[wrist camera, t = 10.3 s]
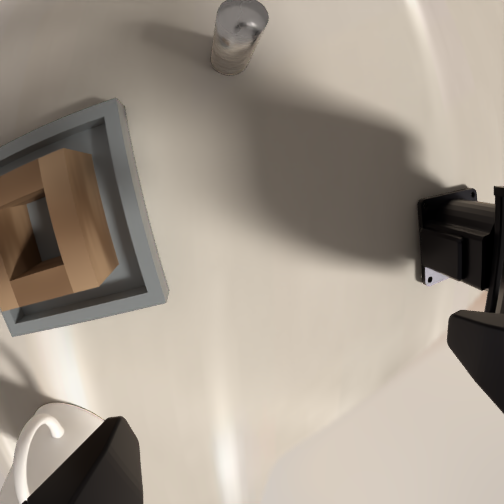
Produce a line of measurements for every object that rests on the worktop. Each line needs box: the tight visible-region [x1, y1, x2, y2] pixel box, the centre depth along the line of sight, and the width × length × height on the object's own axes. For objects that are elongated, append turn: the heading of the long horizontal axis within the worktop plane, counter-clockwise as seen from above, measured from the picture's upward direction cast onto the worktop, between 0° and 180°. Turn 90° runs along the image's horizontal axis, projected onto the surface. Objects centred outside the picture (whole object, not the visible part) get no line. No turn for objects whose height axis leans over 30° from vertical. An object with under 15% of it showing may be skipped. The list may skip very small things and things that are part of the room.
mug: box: [0, 403, 104, 504], centre depth 14 cm, size 12×8×12 cm
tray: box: [0, 98, 169, 337], centre depth 15 cm, size 11×11×2 cm
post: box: [211, 0, 269, 75], centre depth 13 cm, size 2×2×6 cm
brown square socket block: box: [0, 148, 119, 312], centre depth 14 cm, size 6×6×4 cm
